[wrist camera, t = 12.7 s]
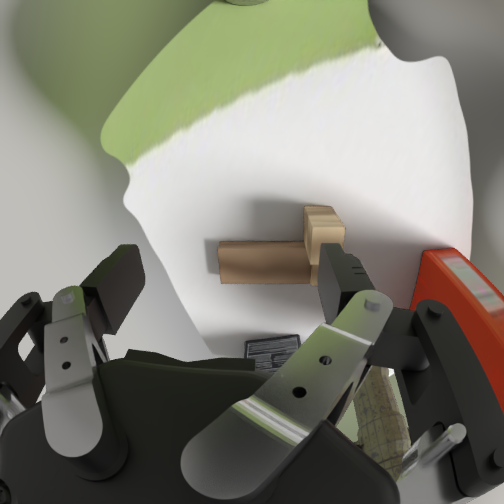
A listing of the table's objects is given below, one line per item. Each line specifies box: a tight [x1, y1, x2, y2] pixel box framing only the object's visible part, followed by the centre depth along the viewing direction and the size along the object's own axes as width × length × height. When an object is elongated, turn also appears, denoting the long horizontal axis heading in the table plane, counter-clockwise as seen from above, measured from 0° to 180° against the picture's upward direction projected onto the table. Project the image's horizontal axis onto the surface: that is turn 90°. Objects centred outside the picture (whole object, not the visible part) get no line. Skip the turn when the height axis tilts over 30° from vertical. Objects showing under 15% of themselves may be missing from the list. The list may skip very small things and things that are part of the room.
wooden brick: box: [303, 206, 345, 286], centre depth 38 cm, size 11×4×8 cm, turn 2°
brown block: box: [218, 241, 312, 284], centre depth 42 cm, size 6×17×2 cm, turn 92°
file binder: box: [410, 248, 504, 414], centre depth 31 cm, size 8×17×32 cm, turn 5°
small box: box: [244, 335, 301, 374], centre depth 48 cm, size 11×6×10 cm, turn 102°
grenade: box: [353, 366, 412, 482], centre depth 38 cm, size 9×12×35 cm
